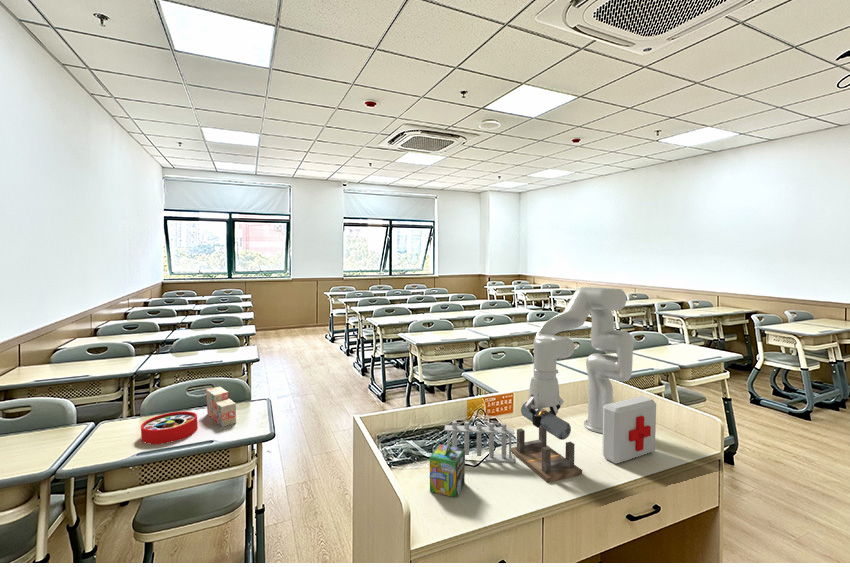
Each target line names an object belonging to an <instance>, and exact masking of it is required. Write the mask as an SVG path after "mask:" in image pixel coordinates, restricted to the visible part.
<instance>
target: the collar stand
mask: <svg viewBox="0 0 850 567" xmlns="http://www.w3.org/2000/svg"><path fill="white" fill-rule="evenodd" d="M525 431H526V430H525V429H523V428H517V429H516V446H513V447H512V446H511V452H512V453H511V455H513V454H514V457H516V458H517V459H518V460H519V461H520V462H522V464H524V465H525V466H526V467H528V469H530V470H531V471H533V473H535V474H536V475H537V476H538V477H540V478H541V479H542V480H543V481H544V482H545V483H547V484H548V483H551V482H555V481H560V480H565V479H570V478H573V477H578V476H581V475H583V469H582V468H580V467H579V466H577V465H576V464H575V443H574V442H572V441H566V442H565V454H564V455H565V456H563V455H562V454H560V453H559V452H557V451H556V450H555V449H553V448H552V447H550V446H549V445H547V442H548V440H547V436H548V434H547V433H548V432H547V431H546V430H544V429H543V428H541V427H539V428H538V439H535V440H530V441H525V439H526V438H525V436H526V434H525Z"/></svg>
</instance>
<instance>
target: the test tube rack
mask: <svg viewBox="0 0 850 567" xmlns="http://www.w3.org/2000/svg"><path fill="white" fill-rule="evenodd" d="M463 424H464V425H458V422H457V421H456V420H452V422H451V424H445V425H444V430H443V431H444V432H447V435H446V436H447V446H448V445H449V444H450V442H451V441H452V445H451V447H456V448H458V432H461V433H462V432H463V433H464V435H463V436H464V438H463V439H464V441H463V442H464V443H463V444H464V449H465V455H469V453H470V433H476V453H477V456H481V454H482V451H483V450H482V446H483V445H482V442H483V441H482V433H483V434H484V433H485V434H488V454H489V456H488V457H487V458H486V459H485V460H486V461H492V462H491V463H502V462H506V463H507V464H516V460H515V455H513V454H512V453H511V448H512V435H515V434H516V433H515V428H514V427H508V426H507V423H505V422H504V423H501V427H500V426H499V427H498V426H495V423H494V422H489V423H488V426H482V425H483V424H482V422H481V421H477V422H476V426H475V425H470V422H469V421H464V423H463ZM450 433H451V434H452V435H451V434H450ZM495 434H501V454H499V453H498V454H497V453H496V454H495ZM507 435H508V454H507ZM450 436H451V437H450ZM451 438H452V439H451ZM450 439H451V440H450Z"/></svg>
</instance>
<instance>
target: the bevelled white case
mask: <svg viewBox="0 0 850 567" xmlns="http://www.w3.org/2000/svg"><path fill="white" fill-rule="evenodd" d="M656 422H657V403H656V402H655V400H654V399H652V398H650V397H646V396H644V395H641V396H636V397H632V398H628V399H624V400H619V401H616V402H613V403H610V404H606V405H605V406H603V433H602V453H601V454H602V456H603V457H604V459H605V460H607V461H609V462H611V463H612V464H614V465H617V463H618V464H620V462H621V463H624V462H626V461H630V460H632V458H633V459H635V457H636V458H638V456H639V457H642V456H645V455H647V453H648V454H650V452H651V453H653V452H655V451H656V432H657V431H656V430H657V429H656V428H657V427H656V425H657V423H656ZM644 454H645V455H644ZM641 455H642V456H641ZM623 461H624V462H623Z"/></svg>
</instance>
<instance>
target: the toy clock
mask: <svg viewBox="0 0 850 567" xmlns="http://www.w3.org/2000/svg"><path fill="white" fill-rule="evenodd" d="M198 426H199V424H198V415H197V412H193V411H188V410H187V411H186V410H185V411H182V410H181V411H174V412H168V413H163V414H159V415H156V416H154V417H151V418H149V419H147V420H145V421H144V422H142V423H141V424H140V433H141V435H140V438H141V439H142V440H141V441H144V442H146V443H151V444H150V445H162V444H161V443H164V444H168V443H167V442H170V443H172V442H171V441H174V442H177V440H178V441H180V439H181V440H183V439H186V438H188V437H190V436H192V435H193V434H194V433H197V431H198ZM146 443H145V444H146Z"/></svg>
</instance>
